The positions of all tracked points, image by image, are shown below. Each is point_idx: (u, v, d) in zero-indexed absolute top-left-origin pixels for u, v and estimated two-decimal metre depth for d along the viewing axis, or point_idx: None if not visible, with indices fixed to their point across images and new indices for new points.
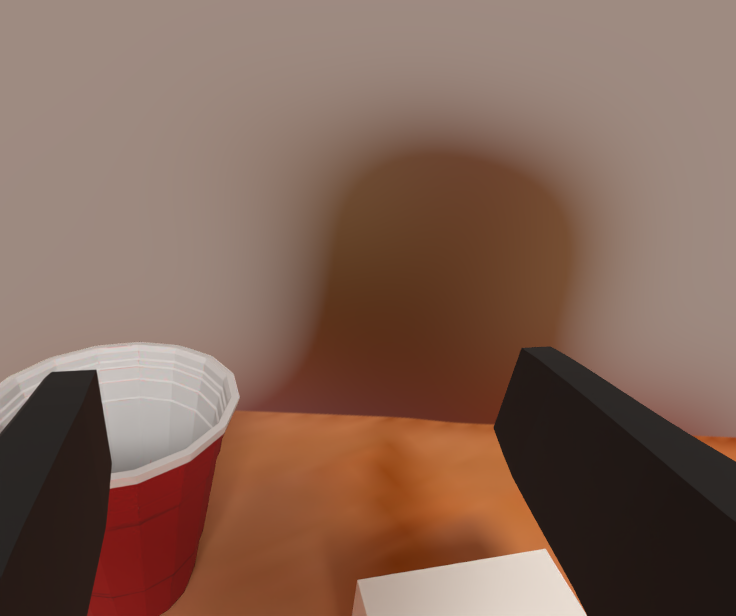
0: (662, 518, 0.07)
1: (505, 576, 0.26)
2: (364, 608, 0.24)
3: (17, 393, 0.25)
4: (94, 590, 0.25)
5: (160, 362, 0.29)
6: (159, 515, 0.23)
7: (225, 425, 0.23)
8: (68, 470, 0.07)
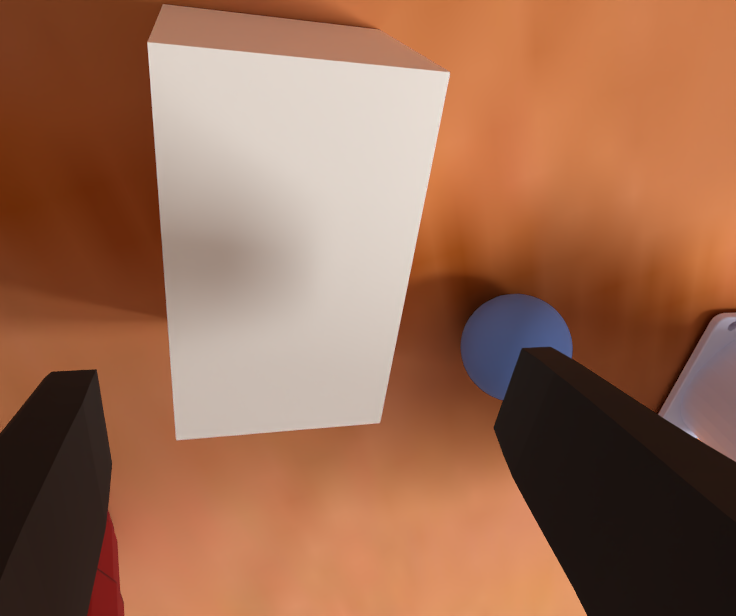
0: (662, 518, 0.07)
1: (213, 195, 0.11)
2: (226, 432, 0.15)
3: None
4: None
5: None
6: None
7: None
8: (68, 469, 0.07)
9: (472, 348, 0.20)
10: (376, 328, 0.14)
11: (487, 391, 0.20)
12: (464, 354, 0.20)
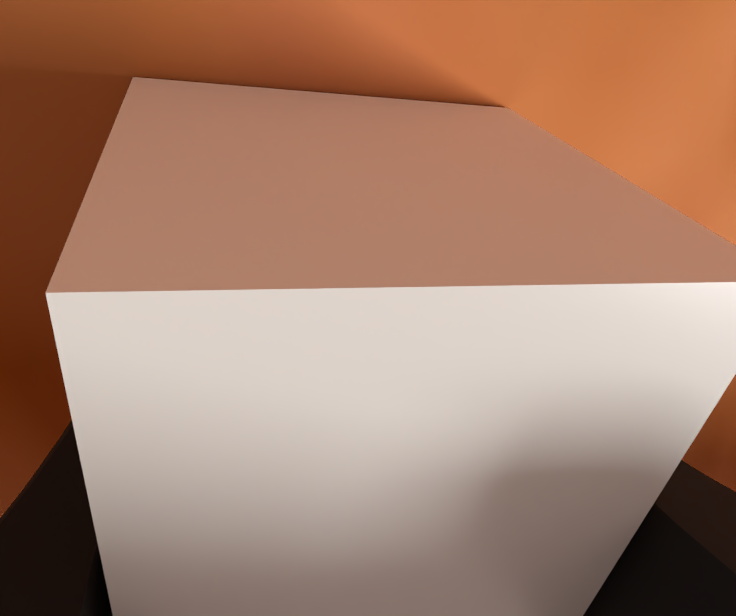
0: None
1: (235, 556, 0.05)
2: None
3: None
4: None
5: None
6: None
7: None
8: None
9: None
10: None
11: None
12: None
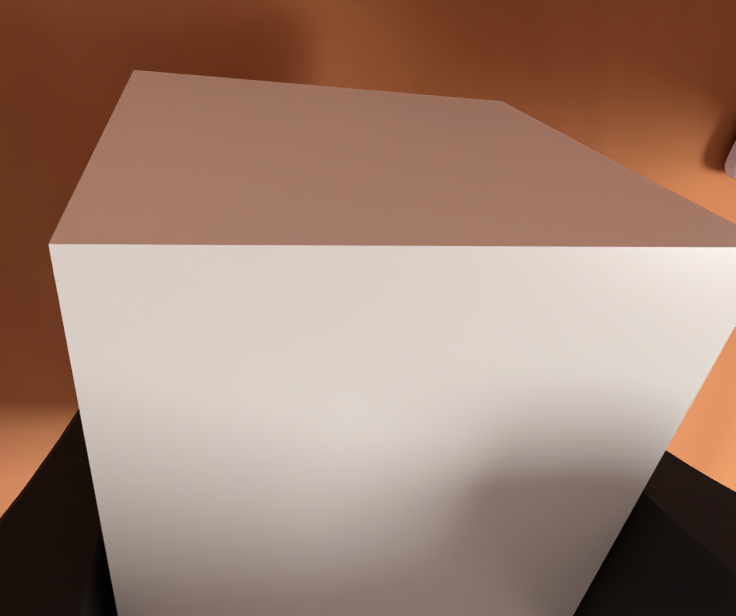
0: None
1: (233, 525, 0.05)
2: None
3: None
4: None
5: None
6: None
7: None
8: None
9: None
10: None
11: None
12: None
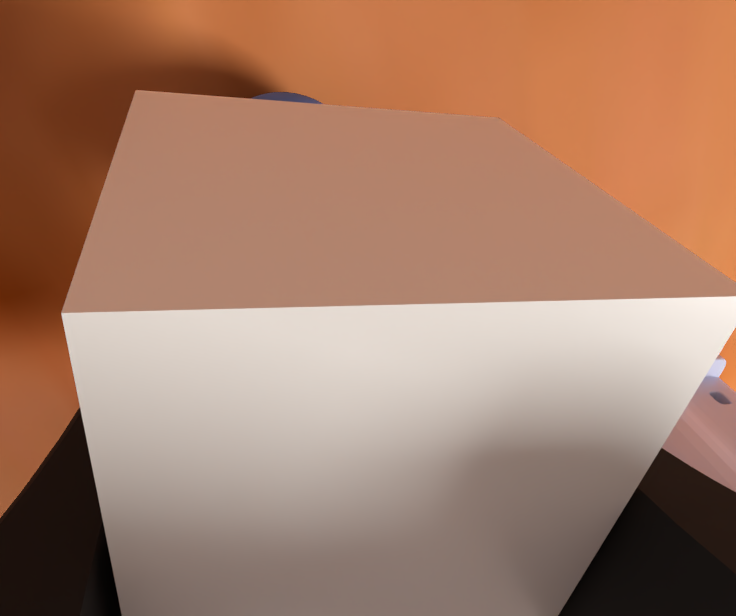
0: (616, 525, 0.07)
1: (233, 549, 0.05)
2: None
3: None
4: None
5: None
6: None
7: None
8: None
9: None
10: None
11: None
12: None
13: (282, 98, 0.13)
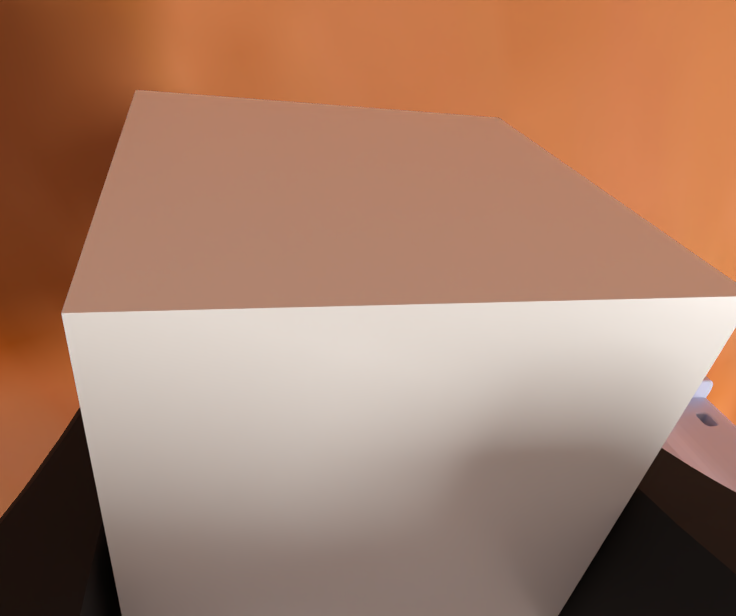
0: (616, 525, 0.07)
1: (233, 548, 0.05)
2: None
3: None
4: None
5: None
6: None
7: None
8: None
9: None
10: None
11: None
12: None
13: None
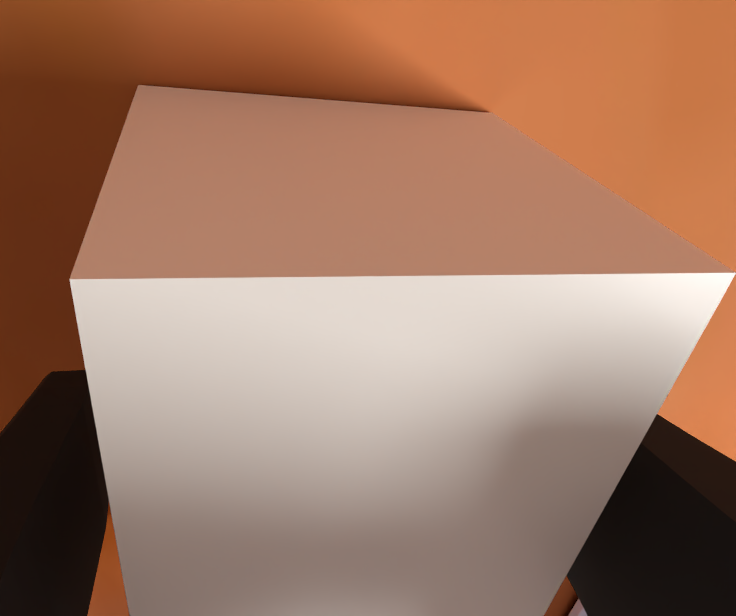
0: (662, 518, 0.07)
1: (233, 521, 0.05)
2: None
3: None
4: None
5: None
6: None
7: None
8: (68, 469, 0.07)
9: None
10: None
11: None
12: None
13: None
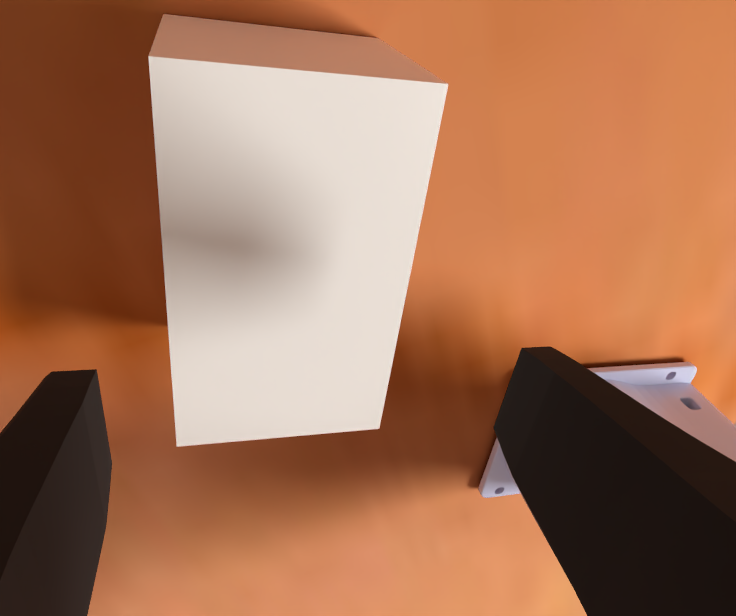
0: (662, 518, 0.07)
1: (214, 206, 0.11)
2: (226, 438, 0.15)
3: None
4: None
5: None
6: None
7: None
8: (68, 470, 0.07)
9: None
10: (375, 335, 0.14)
11: None
12: None
13: None
